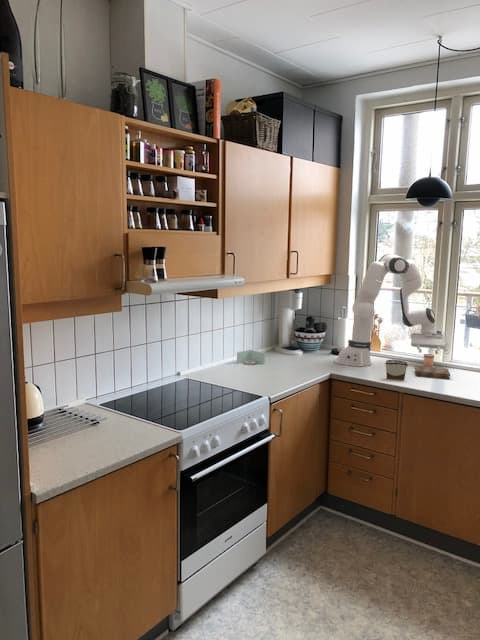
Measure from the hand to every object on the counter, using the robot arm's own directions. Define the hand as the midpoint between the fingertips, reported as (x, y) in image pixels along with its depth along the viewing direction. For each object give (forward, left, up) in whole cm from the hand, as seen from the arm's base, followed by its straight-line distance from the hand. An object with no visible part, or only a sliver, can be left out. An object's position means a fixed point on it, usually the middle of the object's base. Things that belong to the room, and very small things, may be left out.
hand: (428, 352), depth 310 cm
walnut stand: (+1, -19, -9) cm, 21 cm away
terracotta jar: (0, -6, -9) cm, 11 cm away
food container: (-20, -36, -9) cm, 42 cm away
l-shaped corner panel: (-102, -34, -10) cm, 108 cm away
